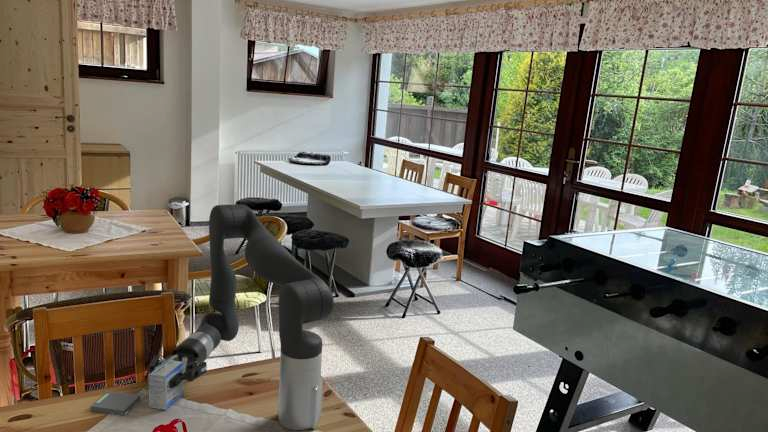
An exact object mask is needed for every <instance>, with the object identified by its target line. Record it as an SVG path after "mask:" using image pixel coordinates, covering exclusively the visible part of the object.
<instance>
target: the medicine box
mask: <svg viewBox="0 0 768 432" xmlns="http://www.w3.org/2000/svg"><path fill="white" fill-rule="evenodd" d="M182 368H183V362H179V361H174V360H167V361H165V362H164V363H163V364H162V365H160V366H159V367H158V368H156V369H155V370H154V371H153V372H151V373H150V374H149V373H148V375H149V385H148V403H149V404H148V405H149V408H150V407H151V409H155V408H156V410H161V409H163V410H162V411H168V409H170V407H171V406H173V405H174V404H175V403H176V402H177V400H179V399H180V398H181V397H182V396H184V395H185V393H184V392H185V391H184V385H185V384H184V382H185V381H184V382H181V383H180V384H179V385H178V386H177V387H175V388H174V389H173V388H170V380H171V379H172V378H173V377H174V376H175V375H176V374H177V373H180V370H181V369H182ZM175 401H176V402H175ZM174 402H175V403H174ZM173 403H174V404H173ZM172 404H173V405H172Z"/></svg>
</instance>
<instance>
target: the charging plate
mask: <svg viewBox="0 0 768 432" xmlns="http://www.w3.org/2000/svg"><path fill="white" fill-rule="evenodd" d="M140 399H141V394H135V393H128V392H120V391H115V390H114V391H113V390H108V391H106V392H105V393H104V394H103V395H102V396H101V397H99V398H98V399H97V400H96V401H95V402H93V403H92V404H91V405H90V411H91V412H96V413H104V414H110V415H111V414H112V413H113V414H112V415H116V414H122V415H121V416H123V415H124V414H125V413H126V412H127V411H128V410H129V411H131V410H132V409H133V408H134V407H135V406H136V405H137V404H138V403H139V402H140V401H141V400H140ZM139 400H140V401H139ZM138 401H139V402H138ZM137 402H138V403H137ZM136 403H137V404H136ZM135 404H136V405H135ZM134 405H135V406H134ZM133 406H134V407H133ZM132 407H133V408H132ZM131 408H132V409H131ZM129 411H128V412H129ZM128 412H127V413H128ZM127 413H126V414H127ZM126 414H125V415H126ZM125 415H124V416H125Z"/></svg>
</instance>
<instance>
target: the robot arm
mask: <svg viewBox="0 0 768 432" xmlns="http://www.w3.org/2000/svg"><path fill="white" fill-rule="evenodd" d="M208 232H209V233H208V234H209V237H208V238H209V252H210V253H209V255H210V273H211V275H210V288H209V296H208V297H209V298H208V301H209V302H208V304H209V306H210V307H211V308H212V309H213V310H215V311H218V312H213V311H211V312H210V311H209V312H207V313H205V314H204V315H203V316H202V318H201V321H200V324H199V326H198V327H197V329H196V331H194V332H193V333H192V334H190V335H188V336H187V337H186V338H185V339H184V340H182V342H180V343H179V344H178V345H177V346H176V347H175V348H174V349H173V351H172V353H171V354H170V355H168V356H166V357H165V358H160V356H159V355H154V356H153V358H152V360H151V361H150V362H149V363H150V364H149V365H148V375H147V385H148V386H149V374H150V373H151V372H153V371H154V370H155V369H156V368H158V367H159V366H160V365H162V364H163V363H164V362H165V361H167V360H174V361H179V362H183V368H182V369H181V370H180V373H177V374H176V375H175V376H174V377H173V378H172V379H171V380H170V388H173V389H174V388H175V387H177V386H178V385H179V384H180V383H181V382H185V381H188V382H189V383H190V382H191V383H192V382H194V381H195V380H197V379H198V378H200V377H202V376H203V375H204V374H206V373H207V368H208V367H207V366H208V365H207V364H208V363H207V361H206V360H207V359H208V358H209V357H210V356H211V353H212V352H213V351H214V350H215V349H216V348H217V347H218V346H219V345H220V343H221V341H223V342H224V341H225V342H230V341H233V340H234V339H235V338H236V337H237V335H238V333H239V329H240V327H239V325H240V324H239V317H238V313H237V308H236V293H237V286H238V285H237V283H238V282H237V280H238V279H237V276H236V273H235V270H234V269H233V267H232V265H231V264H230V262H229V260H228V257H227V256H226V253H225V247H224V246H225V245H224V244H225V240H228V239H229V240H231V239H244V240H246V241H247V242H246V244H245V247H244V248H245V249H244V257H245V258H244V259H245V261H246V263H247V264H248V266H249V267H250V268H251V269H252V271H254V273H255V274H256V275H257V276H258V277H260V278H261V279H263V280H264V281H267V282H268V283H271V284H273V285H277V286H280V287H281V288H280V290H279V295H278V327H279V328H278V335H279V342H280V355H279V356H280V357H279V382H278V383H279V384H278V386H279V387H278V388H279V389H278V411H277V414H278V417H277V419H278V423H279V424H280V425H281V426H282V427H283V428H285V429H288V430H291V431H292V430H293V431H304V430H309V429H311V430H312V429H313V430H314V429H316V427H317V425H318V423H319V420H320V418H321V415H322V407H323V406H322V405H323V404H322V403H323V402H322V401H323V381H324V379H323V377H322V360H323V359H322V358H323V357H322V356H323V339H322V337H321V336H320V335H319V334H317V333H315V332H313V331H310V330H306V329H305V330H304V329H303V325H304V324H309V323H312V322H318V321H321V320H324V319H326V318H328V317H329V316H330V315H331V314H332V313H333V311H334V309H335V300H334V296H333V294H332V293H333V292H332V290H331V289H330V287H329V286H328V284H327V283H326V282H325V280H323V279H321V278H320V277H319V276H318V275H316V274H315V273H313V271H311V270H309V269H308V268H307V267H305V266H304V265H303V264H302V263H301V262H300V261H299V260H298V259H296V257H294V255H292V254H291V253H290V252H289V251H288V250H287V249H286V247H285V246H284V245H283V244H282V243H281V242H280V241H279V240H278V239H277V238H275V236H273V235H272V234H271V233H270V232H269V231H268V229H267V228H266V227H265V226H264V225H263V223H262V222H261V221H260V219H259V218H258V216H257V215H256V214H255V212H254V211H253V210H252V209H251V208H250V206H249V207H248V206H247V205H245V204H241V203H240V204H217V205H214V206H213V207H212V209H211V210H210V213H209V221H208Z"/></svg>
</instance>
